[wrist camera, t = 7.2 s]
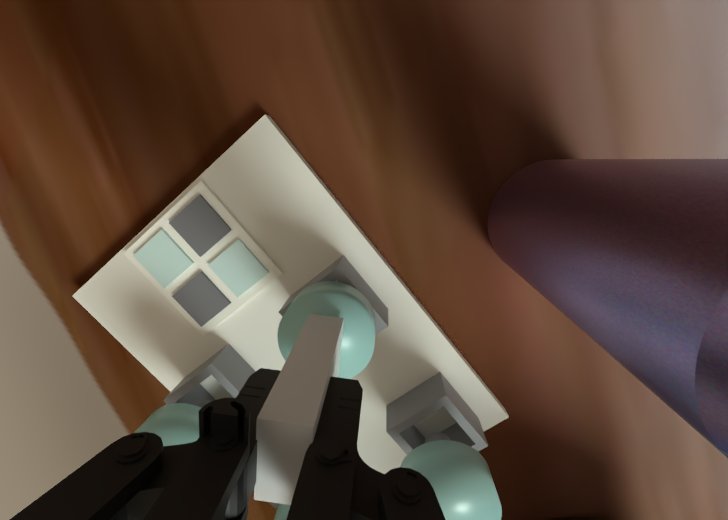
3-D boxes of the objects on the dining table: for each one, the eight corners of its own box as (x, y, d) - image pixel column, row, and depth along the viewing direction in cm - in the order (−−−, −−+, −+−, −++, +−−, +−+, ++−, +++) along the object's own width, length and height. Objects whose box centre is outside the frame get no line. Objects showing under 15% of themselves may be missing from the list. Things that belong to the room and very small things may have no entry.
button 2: (208, 361, 19) (162, 413, 15) (264, 418, 20) (234, 481, 16) (154, 403, 20) (98, 461, 16) (209, 455, 21) (169, 523, 17)
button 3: (447, 394, 19) (463, 455, 15) (495, 450, 19) (521, 523, 15) (380, 435, 19) (379, 502, 16) (428, 487, 20) (438, 563, 16)
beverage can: (461, 213, 19) (678, 374, 5) (555, 133, 18) (1251, 25, 3) (528, 291, 20) (877, 620, 6) (622, 221, 19) (1392, 422, 4)
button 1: (342, 251, 19) (331, 275, 15) (393, 312, 20) (394, 349, 16) (282, 298, 20) (257, 331, 16) (332, 354, 21) (320, 399, 17)
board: (269, 116, 19) (248, 108, 16) (504, 408, 22) (522, 445, 19) (83, 291, 22) (37, 311, 19) (313, 518, 26) (304, 563, 23)
